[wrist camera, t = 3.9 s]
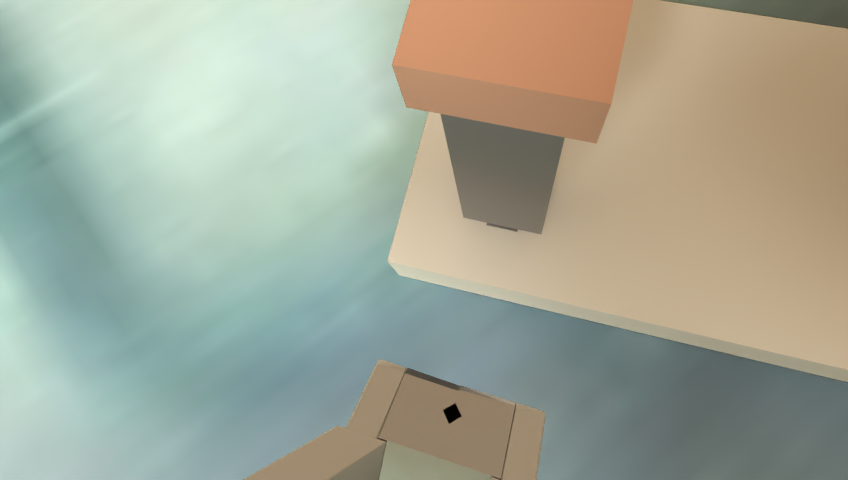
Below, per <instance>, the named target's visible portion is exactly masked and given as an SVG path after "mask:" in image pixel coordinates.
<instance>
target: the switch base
mask: <svg viewBox="0 0 848 480" xmlns="http://www.w3.org/2000/svg"><path fill="white" fill-rule="evenodd" d="M387 262H388V263H389V264H390V265H391V266H392V267H393V268H394V270H395V271H396V272H397V273H398V274H399V275H400V276H404V277H409V278H413V279H417V280H421V281H425V282H430V283H434V284H438V285H442V286H446V287H451V288H455V289H459V290H463V291H467V292H472V293H476V294H480V295H484V296H488V297H493V298H497V299H501V300H505V301H509V302H513V303H518V304H522V305H526V306H530V307H534V308H539V309H543V310H547V311H551V312H555V313H560V314H564V315H568V316H572V317H576V318H581V319H585V320H589V321H593V322H597V323H601V324H606V325H610V326H614V327H618V328H622V329H627V330H631V331H635V332H639V333H643V334H648V335H652V336H656V337H660V338H664V339H669V340H673V341H677V342H681V343H685V344H690V345H694V346H698V347H702V348H706V349H710V350H715V351H719V352H723V353H727V354H731V355H736V356H740V357H744V358H748V359H752V360H757V361H761V362H765V363H769V364H773V365H778V366H782V367H786V368H790V369H794V370H799V371H803V372H807V373H811V374H815V375H819V376H824V377H828V378H832V379H836V380H840V381H845V382H848V29H846V28H839V27H833V26H826V25H819V24H813V23H806V22H800V21H793V20H786V19H780V18H773V17H767V16H760V15H753V14H747V13H740V12H734V11H727V10H720V9H714V8H707V7H701V6H694V5H687V4H681V3H674V2H668V1H661V0H633V4H632V9H631V14H630V18H629V23H628V28H627V33H626V37H625V42H624V47H623V51H622V56H621V61H620V65H619V70H618V75H617V80H616V84H615V89H614V94H613V98H612V103H611V106H610V109H609V112H608V114H607V117H606V120H605V122H604V125H603V128H602V130H601V133H600V136H599V138H598V141H597V144H596V143H591V142H586V141H580V140H575V139H570V138H565V139H564V143H563V147H562V151H561V155H560V159H559V164H558V168H557V172H556V176H555V180H554V184H553V188H552V192H551V197H550V201H549V205H548V209H547V213H546V217H545V221H544V226H543V230H542V234H536V233H532V232H527V231H523V230H518V229H514V228H509V227H504V226H500V225H495V224H491V223H486V222H482V221H477V220H472V219H468V218H463V213H462V209H461V204H460V200H459V195H458V191H457V186H456V182H455V177H454V173H453V168H452V164H451V159H450V155H449V150H448V146H447V141H446V137H445V132H444V128H443V123H442V119H441V114H439V113H434V112H428V115H427V119H426V123H425V126H424V130H423V133H422V137H421V141H420V144H419V148H418V152H417V155H416V159H415V163H414V166H413V170H412V174H411V177H410V181H409V185H408V188H407V192H406V196H405V199H404V203H403V207H402V210H401V214H400V217H399V221H398V225H397V228H396V232H395V236H394V239H393V243H392V247H391V250H390V254H389V258H388V261H387Z"/></svg>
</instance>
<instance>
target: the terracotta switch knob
mask: <svg viewBox="0 0 848 480" xmlns="http://www.w3.org/2000/svg"><path fill="white" fill-rule="evenodd" d="M632 4H633V0H411V1H410V5H409V8H408V11H407V15H406V18H405V22H404V25H403V29H402V32H401V35H400V39H399V42H398V46H397V49H396V53H395V56H394V60H393V63H392V66H393V69H394V72H395V75H396V78H397V81H398V84H399V87H400V90H401V93H402V96H403V99H404V102H405V105H406V107H408V108H413V109H419V110H424V111H429V112H434V113H439V114H441V119H442V123H443V128H444V132H445V137H446V141H447V146H448V150H449V155H450V159H451V164H452V168H453V173H454V177H455V182H456V186H457V191H458V195H459V200H460V204H461V209H462V213H463V218H468V219H472V220H477V221H482V222H486V223H491V224H495V225H500V226H504V227H509V228H514V229H518V230H523V231H527V232H532V233H536V234H542V230H543V226H544V221H545V217H546V213H547V209H548V205H549V201H550V197H551V192H552V188H553V184H554V180H555V176H556V172H557V168H558V164H559V159H560V155H561V151H562V147H563V143H564V139H565V138H570V139H575V140H580V141H586V142H591V143H596V144H597V141H598V138H599V136H600V133H601V130H602V128H603V125H604V122H605V120H606V117H607V114H608V112H609V109H610V106H611V103H612V98H613V94H614V89H615V84H616V80H617V75H618V70H619V65H620V61H621V56H622V51H623V47H624V42H625V37H626V33H627V28H628V23H629V18H630V14H631V9H632Z"/></svg>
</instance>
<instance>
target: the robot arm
mask: <svg viewBox="0 0 848 480" xmlns="http://www.w3.org/2000/svg"><path fill="white" fill-rule="evenodd" d="M544 423H545V414H544V411H541V410H537V409H534V408H531V407H528V406H525V405H521V404H518V403H516V404H515V402H512V401H509V400H506V399H502V398H499V397H496V396H493V395H489V394H486V393H483V392H480V391H476V390H473V389H470V388H467V387H464V386H458V385H456V384H453V383H450V382H447V381H444V380H441V379H438V378H435V377H432V376H430V375H427V374H424V373H421V372H418V371H415V370H412V369H409V368H405V367H402V366H399V365H396V364H393V363H391V362H388V361H385V360H382V359H380V360H379V361H378V363H377V364H376V365H375V367H374V369H373V371H372V373H371V375H370V378H369V380H368V382H367V384H366V386H365V388H364V390H363V392H362V394H361V397H360V399H359V401H358V403H357V405H356V407H355V409H354V411H353V413H352V415H351V418H350V420H349V422H348V424H347V426H346V428H344V427H341V426H336V427H334V428H332V429H331V430H329V431H327V432H326V433H324V434H322V435H320V436H319V437H317V438H315V439H313V440H312V441H310V442H308V443H306V444H305V445H303V446H301V447H299V448H298V449H296V450H294V451H293V452H291V453H289V454H287V455H286V456H284V457H282V458H280V459H279V460H277V461H275V462H273V463H272V464H270V465H268V466H266V467H265V468H263V469H261V470H260V471H258V472H256V473H254V474H253V475H251V476H249V477H247V478H246V479H244V480H537V473H538V466H539V459H540V451H541V444H542V437H543V430H544Z"/></svg>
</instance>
